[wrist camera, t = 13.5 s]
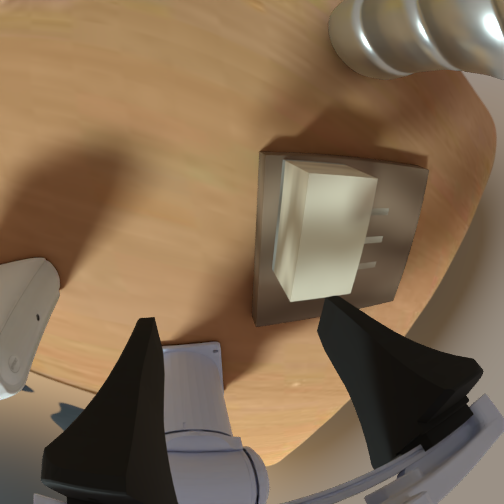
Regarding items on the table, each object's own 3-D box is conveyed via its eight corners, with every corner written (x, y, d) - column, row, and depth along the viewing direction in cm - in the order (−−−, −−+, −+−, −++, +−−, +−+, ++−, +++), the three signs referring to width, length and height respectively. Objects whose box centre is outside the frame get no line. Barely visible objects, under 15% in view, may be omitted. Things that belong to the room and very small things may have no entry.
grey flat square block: (385, 292, 28) (393, 300, 26) (251, 315, 24) (256, 327, 23) (417, 165, 21) (429, 170, 20) (259, 151, 18) (265, 155, 16)
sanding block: (325, 264, 22) (350, 293, 18) (271, 268, 20) (290, 301, 17) (343, 163, 18) (377, 178, 14) (282, 159, 17) (309, 173, 13)
